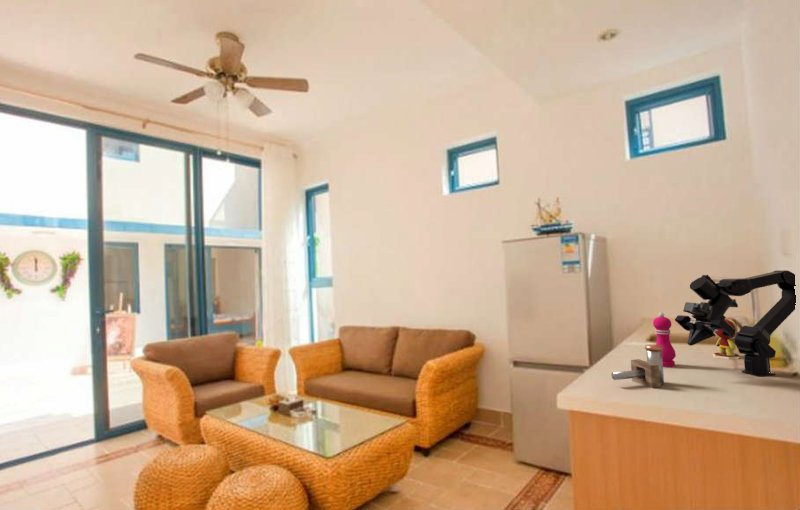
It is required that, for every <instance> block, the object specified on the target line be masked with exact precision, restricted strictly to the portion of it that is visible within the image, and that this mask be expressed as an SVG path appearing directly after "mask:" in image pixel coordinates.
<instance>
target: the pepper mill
mask: <svg viewBox="0 0 800 510" xmlns="http://www.w3.org/2000/svg"><path fill="white" fill-rule="evenodd" d="M652 325H653V327H654V328H655V329H654V333H655V335H656V343H655V345H661V346H663V350H662V360H663V368H674V367H676V362H675V361H674V359H675V358H676V356H677V355H676V350H675V349H674V347H673V345H672V343H671V339H670V334H671V327H672V321H671V319H670V318H668V317H666V316H665V314H664V312H659V313H658V316H656V317H655V318H654V319H653V320H652Z"/></svg>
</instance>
